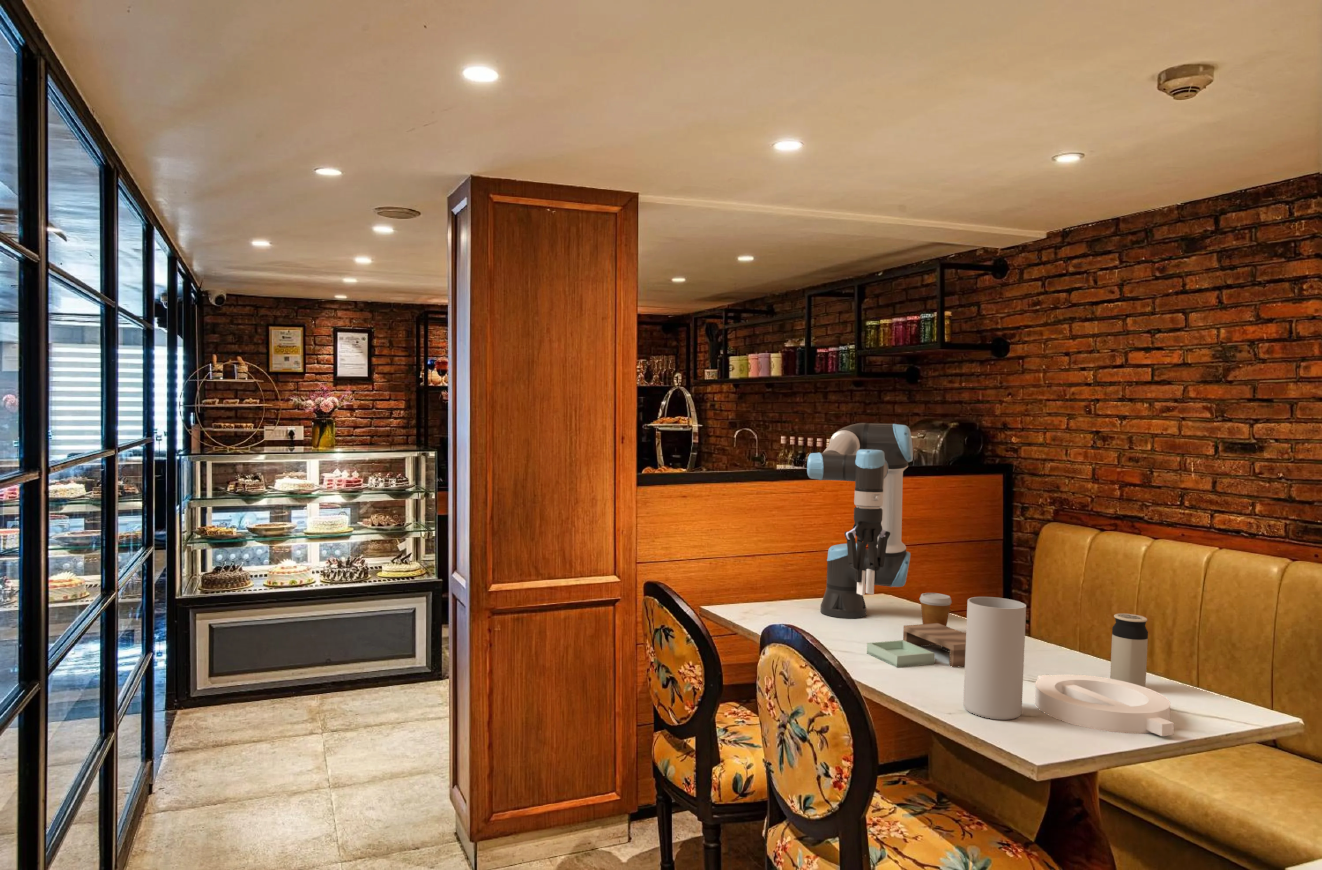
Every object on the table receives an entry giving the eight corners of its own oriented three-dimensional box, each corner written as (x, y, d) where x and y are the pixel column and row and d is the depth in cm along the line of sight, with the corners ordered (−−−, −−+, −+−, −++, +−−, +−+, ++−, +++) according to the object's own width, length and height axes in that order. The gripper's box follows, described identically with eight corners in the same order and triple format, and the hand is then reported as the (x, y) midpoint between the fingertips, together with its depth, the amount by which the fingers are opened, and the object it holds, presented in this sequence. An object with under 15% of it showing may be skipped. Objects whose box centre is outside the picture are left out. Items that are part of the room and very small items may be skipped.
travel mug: (1126, 693, 223) (1129, 621, 223) (1102, 683, 231) (1105, 613, 230) (1152, 691, 225) (1156, 619, 225) (1128, 682, 233) (1131, 612, 233)
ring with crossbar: (1175, 743, 191) (1176, 721, 190) (1031, 720, 202) (1032, 699, 202) (1163, 705, 216) (1164, 685, 216) (1036, 687, 228) (1037, 668, 228)
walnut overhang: (902, 646, 262) (903, 625, 262) (936, 643, 267) (937, 623, 267) (953, 667, 242) (953, 645, 242) (989, 663, 246) (989, 642, 246)
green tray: (866, 653, 253) (867, 642, 253) (902, 650, 258) (903, 640, 257) (896, 667, 240) (897, 656, 240) (934, 664, 244) (934, 653, 244)
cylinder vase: (974, 698, 215) (979, 594, 215) (1028, 711, 207) (1033, 603, 207) (954, 711, 206) (959, 602, 205) (1010, 725, 198) (1015, 611, 197)
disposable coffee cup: (946, 631, 282) (948, 593, 281) (953, 639, 272) (955, 599, 272) (915, 630, 282) (916, 591, 282) (921, 637, 273) (922, 598, 273)
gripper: (851, 508, 237) (848, 598, 238) (900, 508, 242) (897, 595, 243) (836, 505, 244) (833, 592, 245) (884, 505, 249) (880, 589, 250)
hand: (865, 593), depth 244 cm, fingers open, 2 cm apart
